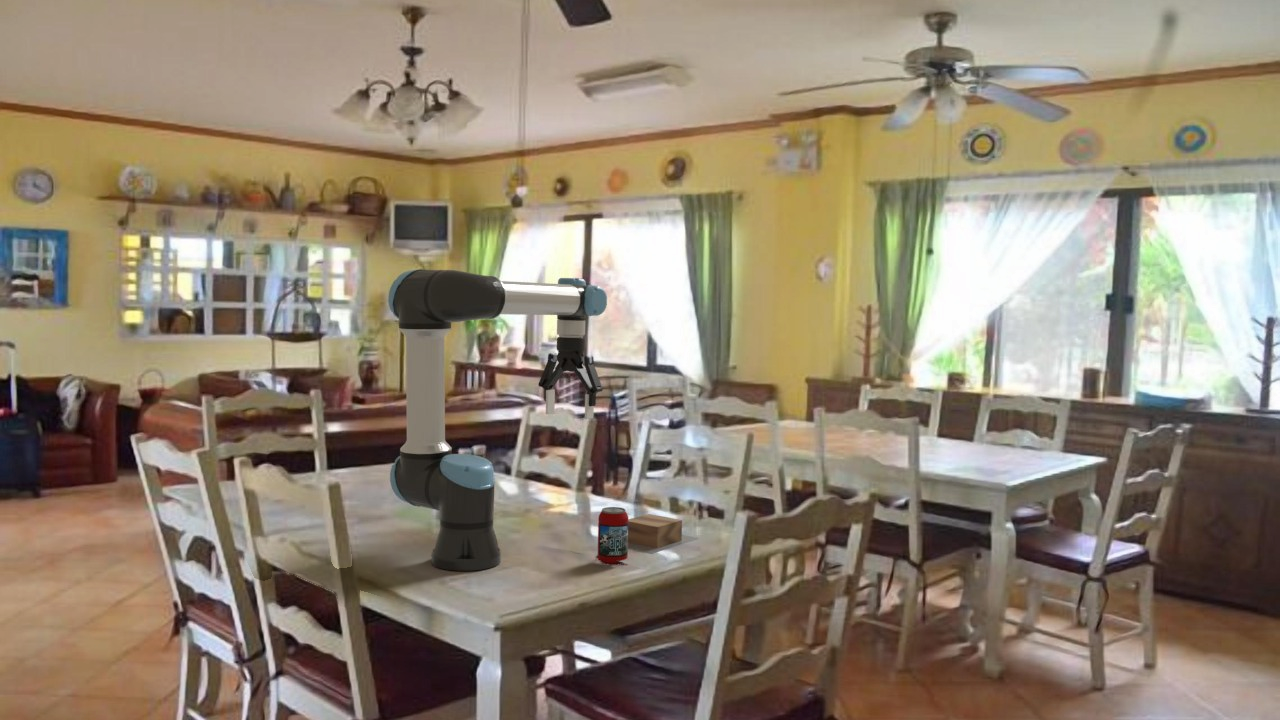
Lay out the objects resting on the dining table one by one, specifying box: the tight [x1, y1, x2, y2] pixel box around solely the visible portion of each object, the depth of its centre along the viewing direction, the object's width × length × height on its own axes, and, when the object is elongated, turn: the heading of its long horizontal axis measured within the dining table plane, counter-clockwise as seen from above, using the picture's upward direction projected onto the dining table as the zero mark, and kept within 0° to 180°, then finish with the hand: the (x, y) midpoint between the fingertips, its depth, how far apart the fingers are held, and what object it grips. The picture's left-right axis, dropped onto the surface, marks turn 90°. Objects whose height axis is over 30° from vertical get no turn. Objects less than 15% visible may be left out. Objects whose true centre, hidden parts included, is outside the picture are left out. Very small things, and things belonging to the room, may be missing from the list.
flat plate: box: [628, 534, 701, 555], centre depth 244 cm, size 20×14×1 cm
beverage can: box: [597, 506, 629, 566], centre depth 228 cm, size 7×7×12 cm
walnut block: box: [628, 513, 683, 548], centre depth 244 cm, size 10×10×5 cm
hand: (569, 416), depth 269 cm, fingers open, 13 cm apart
